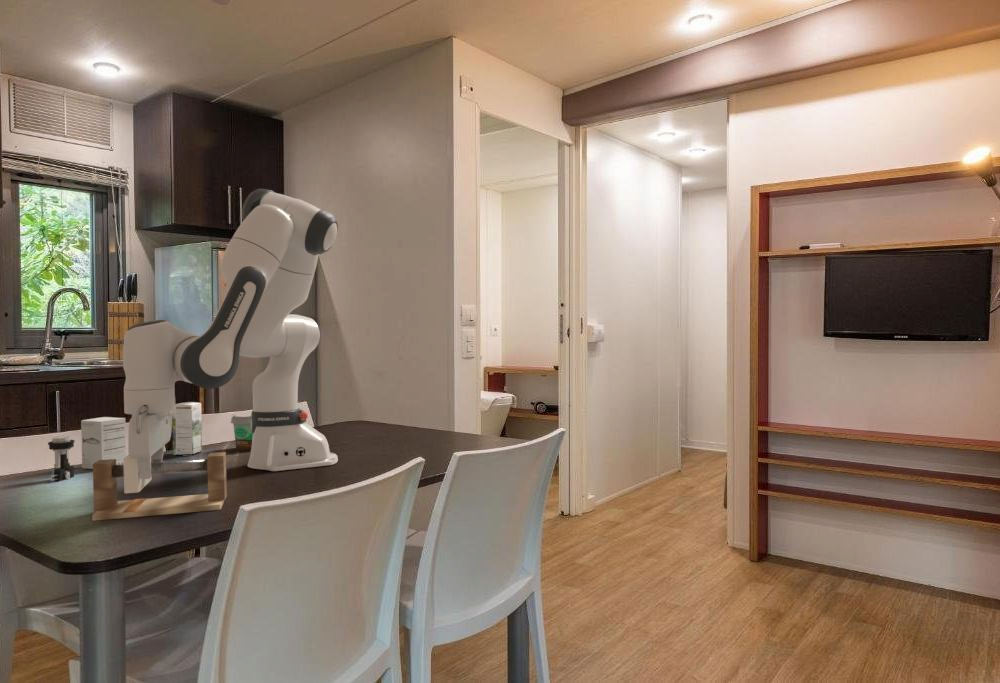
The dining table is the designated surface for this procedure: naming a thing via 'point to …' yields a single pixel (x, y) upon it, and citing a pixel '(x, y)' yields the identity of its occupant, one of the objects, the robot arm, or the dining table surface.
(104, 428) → the supplement box
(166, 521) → the dining table surface
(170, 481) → the dining table surface
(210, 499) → the rod stand
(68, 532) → the dining table surface
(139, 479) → the collar
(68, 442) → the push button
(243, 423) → the food container
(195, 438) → the syrup box
